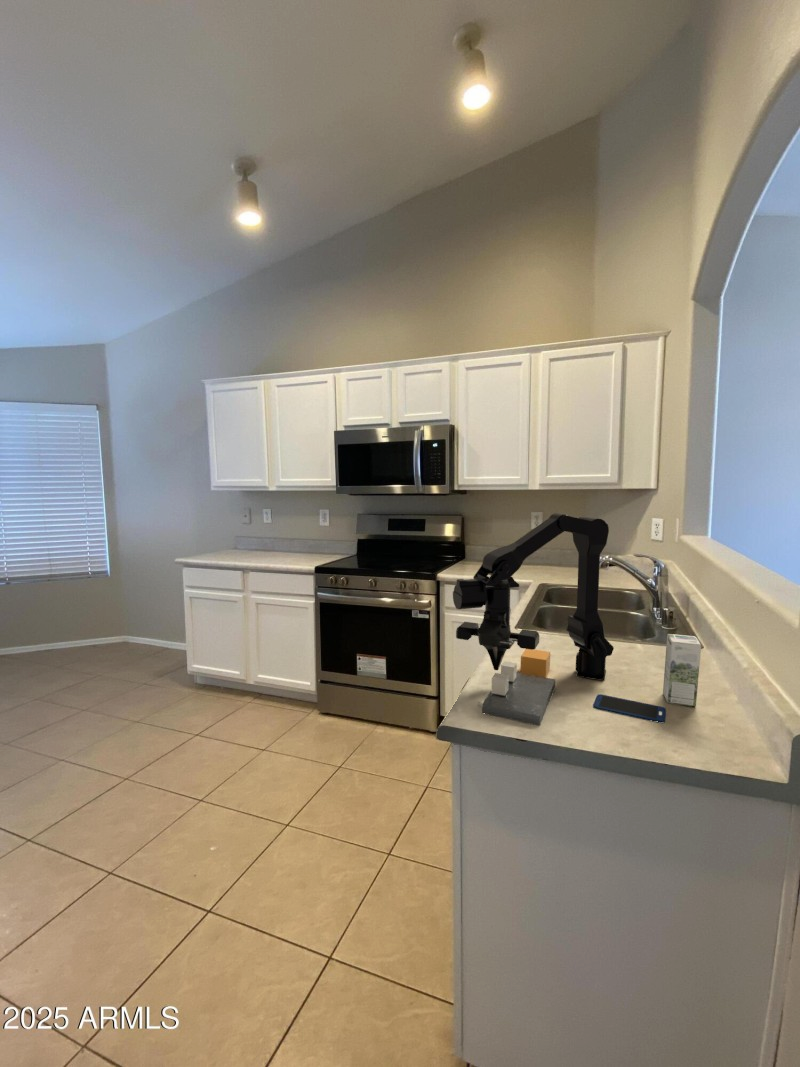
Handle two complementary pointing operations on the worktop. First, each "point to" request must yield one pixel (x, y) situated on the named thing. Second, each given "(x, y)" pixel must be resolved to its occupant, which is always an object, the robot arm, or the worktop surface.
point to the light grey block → (509, 670)
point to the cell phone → (630, 708)
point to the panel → (522, 699)
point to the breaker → (500, 684)
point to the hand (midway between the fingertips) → (496, 669)
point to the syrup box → (681, 669)
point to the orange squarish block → (535, 663)
